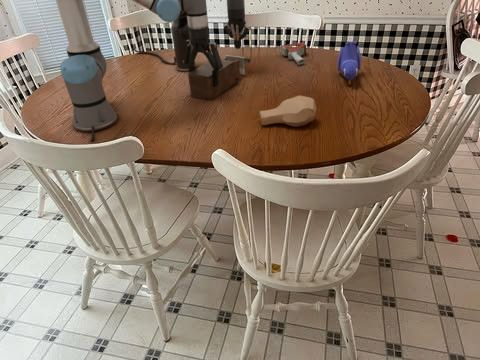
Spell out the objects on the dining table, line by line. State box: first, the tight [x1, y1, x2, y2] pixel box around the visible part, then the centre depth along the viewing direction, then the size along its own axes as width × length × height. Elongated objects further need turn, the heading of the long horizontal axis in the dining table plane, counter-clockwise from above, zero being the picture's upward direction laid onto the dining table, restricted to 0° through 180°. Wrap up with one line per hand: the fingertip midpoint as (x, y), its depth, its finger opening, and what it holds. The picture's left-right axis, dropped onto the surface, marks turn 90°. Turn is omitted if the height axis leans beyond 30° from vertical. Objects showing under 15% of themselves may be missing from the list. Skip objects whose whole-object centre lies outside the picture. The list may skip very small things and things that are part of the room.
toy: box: [336, 40, 362, 86], centre depth 151 cm, size 10×17×25 cm
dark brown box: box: [187, 59, 237, 101], centre depth 151 cm, size 20×10×10 cm, turn 150°
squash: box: [258, 94, 318, 128], centre depth 122 cm, size 11×20×9 cm, turn 92°
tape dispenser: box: [279, 42, 307, 66], centre depth 180 cm, size 18×5×20 cm
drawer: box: [222, 54, 251, 78], centre depth 159 cm, size 25×9×8 cm, turn 150°
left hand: (205, 83), depth 147 cm, fingers closed on dark brown box, 10 cm apart
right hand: (238, 48), depth 162 cm, fingers closed
